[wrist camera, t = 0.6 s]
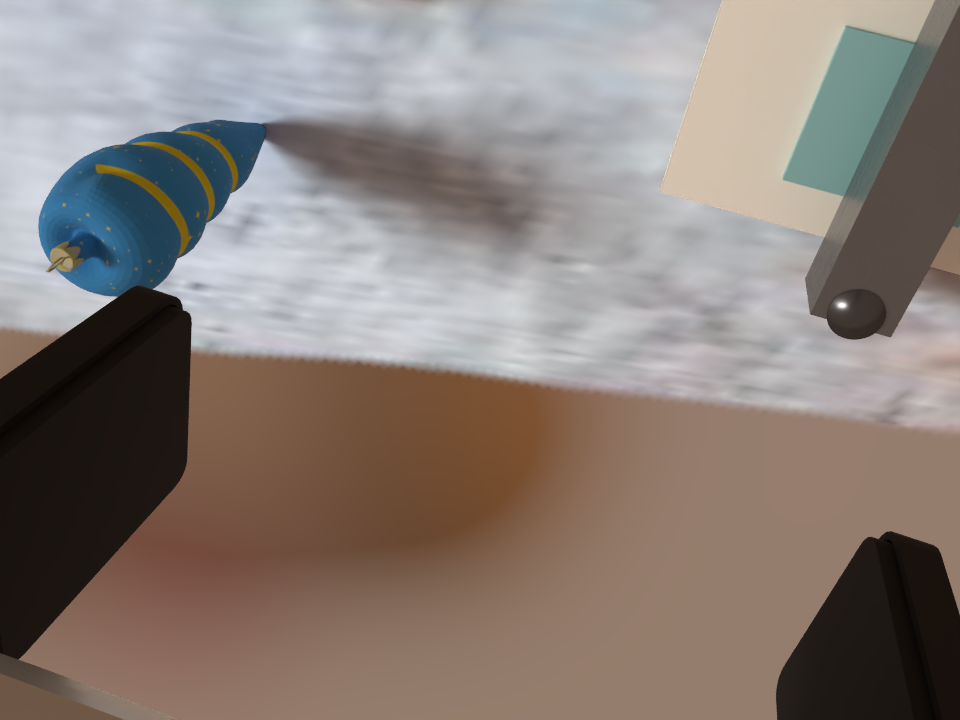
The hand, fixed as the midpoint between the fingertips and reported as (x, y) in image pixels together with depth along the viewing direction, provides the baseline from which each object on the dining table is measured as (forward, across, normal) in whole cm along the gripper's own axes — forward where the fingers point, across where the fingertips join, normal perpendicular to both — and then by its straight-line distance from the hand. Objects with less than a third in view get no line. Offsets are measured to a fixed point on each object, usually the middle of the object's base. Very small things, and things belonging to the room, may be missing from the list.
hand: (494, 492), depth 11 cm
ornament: (+28, +17, +8) cm, 34 cm away
